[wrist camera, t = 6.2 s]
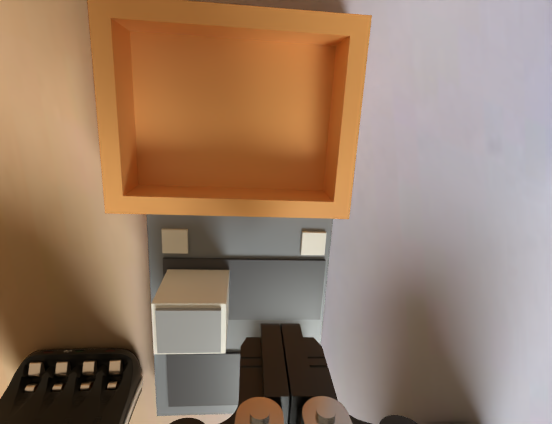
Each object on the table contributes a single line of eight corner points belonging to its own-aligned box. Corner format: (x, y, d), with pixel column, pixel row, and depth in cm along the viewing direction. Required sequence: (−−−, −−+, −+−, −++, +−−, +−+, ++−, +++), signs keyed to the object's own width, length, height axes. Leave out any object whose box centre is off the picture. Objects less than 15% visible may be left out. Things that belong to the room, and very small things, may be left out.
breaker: (167, 269, 17) (149, 306, 14) (229, 269, 18) (225, 306, 14) (169, 312, 18) (152, 357, 15) (228, 312, 18) (225, 356, 15)
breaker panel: (156, 201, 19) (145, 213, 17) (324, 206, 20) (333, 217, 17) (164, 389, 22) (156, 418, 20) (308, 386, 23) (314, 414, 21)
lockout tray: (114, 13, 16) (86, -8, 13) (350, 31, 17) (371, 15, 14) (126, 197, 18) (105, 213, 16) (333, 202, 20) (348, 219, 17)
